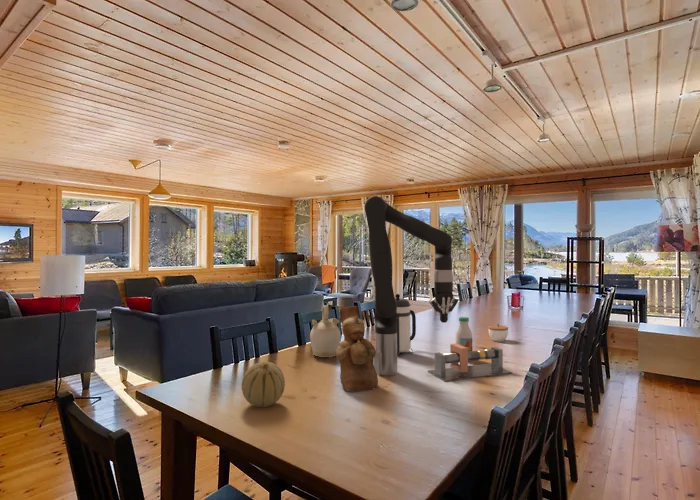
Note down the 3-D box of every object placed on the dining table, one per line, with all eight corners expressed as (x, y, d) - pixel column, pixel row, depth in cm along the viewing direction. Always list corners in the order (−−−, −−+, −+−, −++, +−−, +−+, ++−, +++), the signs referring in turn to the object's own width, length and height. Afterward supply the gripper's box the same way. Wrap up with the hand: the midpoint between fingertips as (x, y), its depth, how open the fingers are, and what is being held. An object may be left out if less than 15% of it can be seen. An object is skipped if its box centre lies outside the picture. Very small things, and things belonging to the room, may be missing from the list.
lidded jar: (484, 339, 239) (484, 323, 239) (498, 337, 244) (498, 321, 244) (498, 343, 230) (497, 326, 230) (512, 341, 234) (512, 324, 234)
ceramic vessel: (343, 395, 151) (342, 312, 151) (330, 377, 172) (329, 304, 172) (384, 390, 155) (383, 310, 155) (366, 373, 176) (365, 303, 176)
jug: (342, 351, 215) (341, 303, 215) (338, 359, 200) (338, 307, 200) (313, 350, 217) (312, 302, 217) (307, 358, 201) (306, 307, 201)
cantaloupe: (266, 394, 152) (266, 353, 152) (294, 403, 143) (293, 360, 143) (232, 406, 141) (231, 362, 141) (259, 417, 131) (259, 370, 131)
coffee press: (414, 357, 202) (413, 295, 202) (381, 355, 205) (381, 295, 205) (416, 348, 219) (415, 291, 219) (385, 347, 222) (385, 291, 222)
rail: (444, 381, 165) (444, 358, 165) (427, 371, 178) (427, 350, 178) (511, 373, 175) (511, 351, 175) (490, 364, 188) (490, 344, 188)
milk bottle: (454, 360, 196) (453, 318, 196) (457, 356, 203) (457, 315, 203) (470, 362, 192) (470, 319, 192) (474, 358, 199) (473, 316, 199)
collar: (461, 372, 170) (461, 348, 170) (450, 366, 178) (450, 344, 178) (467, 371, 171) (467, 347, 171) (456, 365, 179) (456, 343, 179)
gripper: (433, 281, 167) (434, 324, 167) (462, 280, 171) (462, 322, 171) (424, 280, 174) (425, 321, 174) (452, 279, 178) (452, 319, 178)
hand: (443, 322), depth 172 cm, fingers closed
